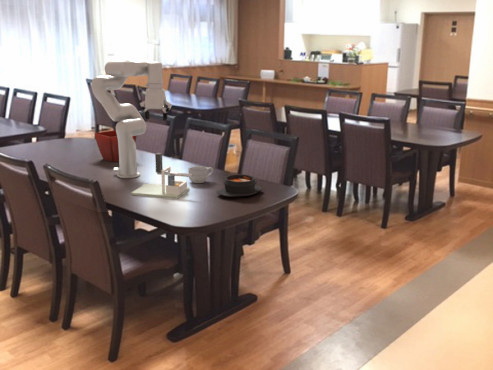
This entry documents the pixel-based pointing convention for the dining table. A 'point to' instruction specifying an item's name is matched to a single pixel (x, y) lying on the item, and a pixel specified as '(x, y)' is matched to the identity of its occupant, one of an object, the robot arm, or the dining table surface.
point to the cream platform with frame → (162, 188)
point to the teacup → (199, 174)
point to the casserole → (239, 186)
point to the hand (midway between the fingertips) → (156, 119)
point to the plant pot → (109, 145)
